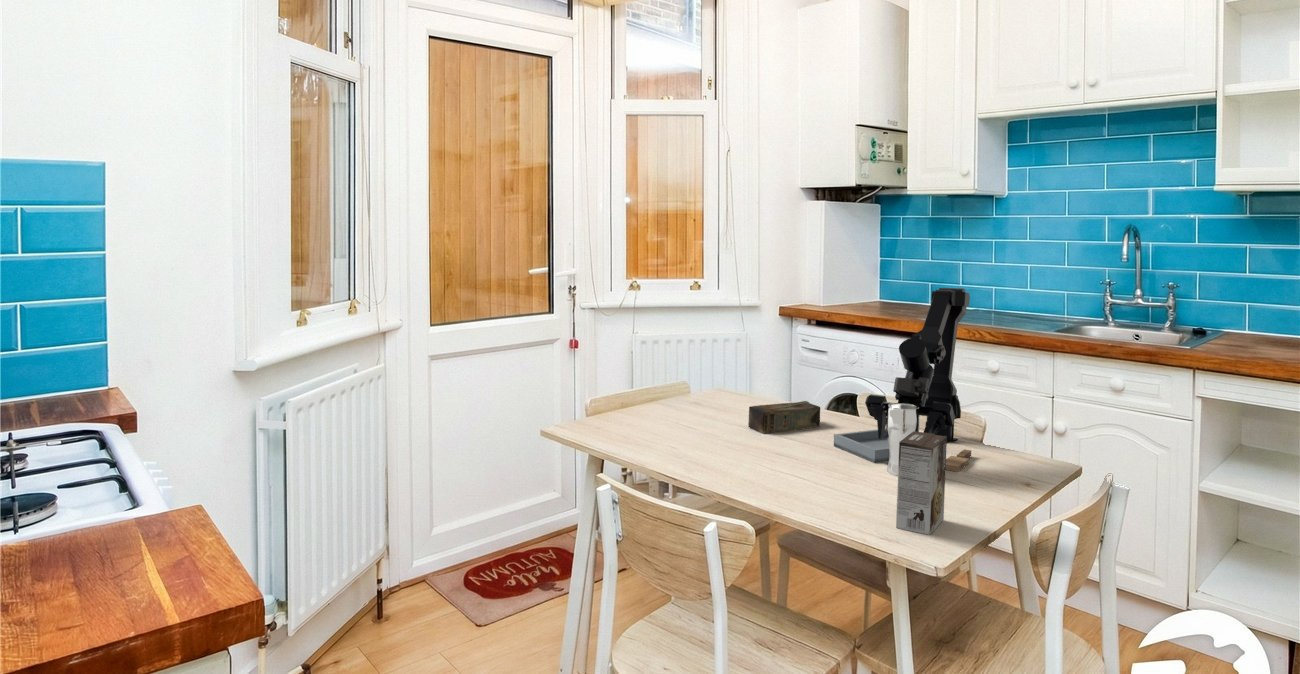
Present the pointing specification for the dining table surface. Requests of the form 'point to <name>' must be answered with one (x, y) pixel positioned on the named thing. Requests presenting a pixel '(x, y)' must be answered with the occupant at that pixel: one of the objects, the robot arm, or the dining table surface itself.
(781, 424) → the beverage carton
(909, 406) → the silver metal cup
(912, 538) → the dining table surface
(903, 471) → the coffee box
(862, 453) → the tray
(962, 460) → the scraper paddle
